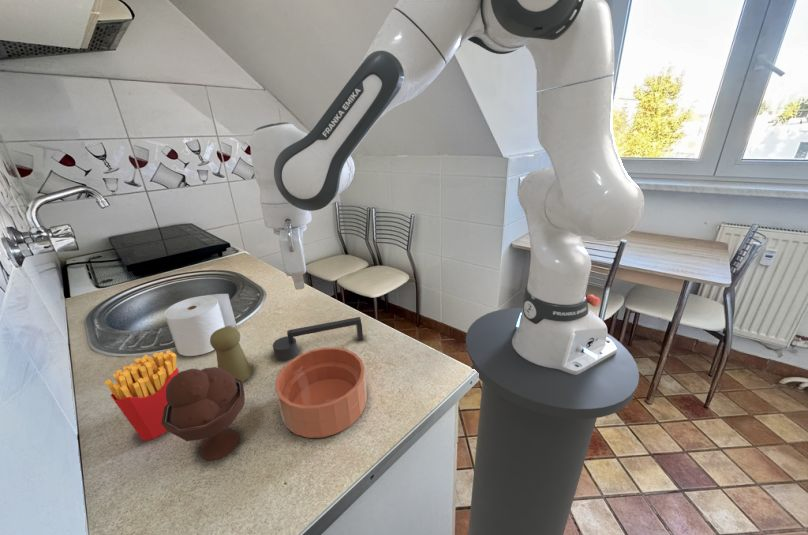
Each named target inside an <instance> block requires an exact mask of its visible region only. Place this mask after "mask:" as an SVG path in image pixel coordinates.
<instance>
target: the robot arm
mask: <svg viewBox="0 0 808 535" xmlns="http://www.w3.org/2000/svg"><path fill="white" fill-rule="evenodd" d="M613 26H614V25H613V19H612V12H611V8H610V5H609V4H608V2H607V1H606V0H398V1H397V2H396V4H395V5H394V6H393V8H392V9H391V10H390V12H389V14H388V16H387V17H386V19H385V20H384V22H383V23H382V25H381V27H380V29H379V30H378V32H377V34H376V35H375V37H374V38H373V40H372V42H371V44H370V46H369V47H368V50H367V52H366V53H365V55H364V56H363V58H362V60H361V61H360V63H359V65H358V66H357V68H356V70H355V72H354V73H353V75H352V76H351V77H350V78H349V80H348V81H347V82H346V83H345V85H344V86H343V88H342V89H341V90H340V92H339V93H338V94H337V96H336V97H335V98H334V100H333V101H332V103H331V104H330V105H329V107H328V108H327V109H326V111H325V112H324V113H323V115H322V116H321V118H320V119H319V120H318V122H317V123H316V124H315V126H314V127H313V128H312V130H310V131H309V132H308V133H306V132H305V131H302V130H301V129H299V128H298V127H296V126H295V124H293V123H291V122H284V121H283V122H276V123H270V124H265V125H262V126H259V127H257V128H256V129H254V130H253V131H252V133H251V134H250V138H249V139H250V140H249V147H250V157H251V158H250V159H251V164H252V169H253V176H254V178H255V180H256V183H257V184H258V187H259V192H260V194H259V202H260V206H261V211H262V216H263V221H264V225H265V227H266V228H268V229H272V230H273V234H274V235H276V236H278V237H279V238H278V239H279V240H278V241H279V246H280V247H279V249H280V254H281V258H282V263H283V264H282V265H283V270H284V273H285V275H286V276H287V277H291V279H292V281H293V285H294V289H295V290H303V289H305V280H304V274H306V272H307V265H306V256H305V248H304V232H306V231H307V230H308V224H310V223H311V222H312V221H313V216H312V212H314V211H320V210H321V209H324V208H325V207H327V206H328V205H329V204H330V203H331V202H332V201H333V200H334V199H335V198H336V197H338V196H339V195H341V194H342V193H343V192H344V191H345V190H347V189H348V188H349V187H350V186H351V184H352V183H353V182H354V179H355V175H356V164H355V161H354V158H353V156H352V154H353V153H354V151H356V149H357V148H358V147H359V145H360V144H361V143H362V141H363V140H364V138H365V137H367V135H368V133H369V132H370V131H371V130H372V129H373V127H374V126H375V124H376V123H377V122H378V121H379V120H380V119H381V118H382V117H383V116H385V114H387V113H388V112H390V111H391V110H393V109H394V108H396V107H398V106H400V105H402V104H404V103H407V102H409V101H411V100H413V99H415V98H416V97H417V96H419V95H420V94H421V93H422V92H423V91H425V89H427V88H428V87H429V86H430V85H431V84H432V83H433V81H435V80H436V78H437V77H438V76H439V75H440V74H441V72H442V71H443V70H444V68H445V67H446V66H447V65H448V63H449V62H450V61H451V59H452V58H453V57H454V55H455V54H456V53H457V52H458V51H459V50H460V48H461V47H462V46H463V45H464V44H465V42H467V41H469V42H471V43H472V44H474V45H477V46H479V47H480V48H482V49H484V50H486V51H487V52H489V53H492V54H496V55H506V54H510V53H513V52H515V51H517V50H519V49H521V48H524V47H525V48H526V49H527V50H528V51H529V53H530V55H531V56H532V59H533V61H534V65H535V70H536V115H537V116H536V120H537V121H536V124H537V138H538V142H539V144H540V146H541V147H542V148H543V149H544V151H545V152H546V154H547V156H548V158H549V160H550V163H551V165H552V166H547V167H542V168H537V169H534V170H532V171H530V172H529V173H528V174H526V176H525V177H524V178H523V179H522V181H521V182H520V185H519V188H518V192H517V195H518V196H517V197H518V198H517V199H518V202H519V204H520V207H521V208H522V210H523V213H524V215H525V218H526V224H527V230H528V231H527V232H528V238H529V244H530V263H529V269H528V270H529V271H528V280H527V284H526V286H525V287H524V292H523V297H522V308H523V310H522V313H521V314H520V316H519V319H518V322H517V327H516V332H515V334H514V336H513V338H512V345H513V347H514V349H515V351H516V352H517V353H518V354H519V355H521V356H522V357H523V358H525V359H526V360H528V361H530V362H532V363H534V364H537V365H540V366H544V367H548V368H554V369H559V370H562V371H564V372H567V373H570V374H574V375H577V374H580V373H581V372H583V371H585V370H587V369H589V368H590V367H592V366H594V365H596V364H597V363H599V362H601V361H603V360H604V359H606V358H608V357H610V356H612V355H613V354H615V353H616V352H617V348H616V346H615V344H614V343H613V342H612V341H611V340H610V339H609V338H608V337H607V333H608V327H607V324H606V323H605V322H604V320H603V319H602V318H600V317H599V316H598V315H597V314H595V312H593V311H591V309H589V304H590V305H591V306H592V307H597V306H599V304H600V303H601V298H600V297H598V296H595V295H594V294H592V293H591V294H586V292H587V289H588V284H589V279H590V276H591V271H592V270H591V269H592V260H591V256H590V254H589V253H588V251H587V249H586V247H585V246H584V245H585V244H584V242H583V239H582V238H584V239H588V240H594V241H604V242H612V241H613V242H614V241H618V240H620V239H622V238H624V237H625V236H627V235H628V234H629V233H631V232H632V231H633V230H634V229H635V228H636V227H637V225H638V224H639V223H640V221H641V219H642V217H643V214H644V212H645V196H644V193H643V191H642V189H641V188H640V187H639V185H637V184H636V183H635V182H634V180H633V179H632V178H631V177H630V176H629V175H628V173H627V171H626V170H625V168H624V166H623V163H622V160H621V158H620V155H619V153H618V148H617V146H616V142H615V138H614V131H613V130H614V129H613V100H614V99H613V98H614V78H615V77H614V76H615V75H614V74H615V36H614V27H613Z"/></svg>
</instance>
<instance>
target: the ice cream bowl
mask: <svg viewBox="0 0 808 535" xmlns="http://www.w3.org/2000/svg"><path fill="white" fill-rule="evenodd" d="M244 386H245V385H244V382H243V381H242V380H239V379H237V378H234V376H233V374H231V373H230V372H228V371H226V370H223V369H221V368H218V366H217V367H215V366H213V367H205V368H203V369H198V368H190V369H186V370H185V369H184V370H182V371H179V373H178V374H177V375H175V376H174V377H172V379H171V380H170V382H169V383H168V385H167V387H166V399H167V402H168V404H167V405H166V406H165V407H164V411H163V416H162V422H161V424H162V426H163V427H164V428H165V429H166V430H167V431H166V432H169V433H171V434H173V435H174V436H176V437H178V438H180V439H182V440H184V441H185V442H192V441H199V440H205V439H206V440H205V441H204V442H203V444H202V446H201V458H202V459H205V460H207V461H208V462H211V461H217V460H218V461H219V460H222V459H223V458H225V457H227V456H228V455H229V454H231V453H232V452H234V451H235V449H236V447H237V446H238V444H239V442H240V437H239V433H238V432H237V431H235V430H233V429H232V428H229V427H231V425H232V424H234V423H233V422H234V421H235V420H236V419H237V417H238V416H239V414H240V413H241V411H242V410H243V409H244V406H245V402H246V395H245V387H244Z"/></svg>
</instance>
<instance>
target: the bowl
mask: <svg viewBox="0 0 808 535" xmlns="http://www.w3.org/2000/svg"><path fill="white" fill-rule="evenodd" d="M365 369H366V368H365V365H364V362H363V360H362V359H361V358H360V356H359V355H358V354H357V353H355V352H353V351H351V350H349V349H347V348H342V347H335V346H334V347H321V348H315V349H312V350H309V351H306V352H303V353H300V354H299V355H296V356H295V357H294V358H292V359H290V360H288V362H287V363H286V364H285V365H284V366H283V367H282V368H281V370H280V371H279V372H278V375H277V376H276V379H275V382H274V383H275V384H274V392H275V395H276V396H275V397H276V399H277V404H278V408H279V412H280V418H281V419H282V422H283V425H284V426H285V428H286V429H288V430H289V431H290V432H292V433H293V434H294V435H296V436H300V437H303V438H310V439H311V438H326V437H329V436H332V435H336V434H339V433H340V432H342V431H344V430H345V429H347V428H349V427H350V426H352V425H353V424H354V423H355V422H356V421H357V419H359V418H360V417H361V416H362V413H363V411H364V410H365V408H366V406H367V399H368V388H367V378H366V370H365Z"/></svg>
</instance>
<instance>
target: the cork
mask: <svg viewBox="0 0 808 535" xmlns="http://www.w3.org/2000/svg"><path fill="white" fill-rule="evenodd" d="M240 341H241V334H240V332H239V330H238V329H237V328H236V327H235V326H228V327H224V328H221V329H218V330H216V331H215V332H214V333H213V334H212V335H211V337H210V343H211V346H212V347H213V348H214V350H215V354H216V363H217V368H221V369H223V370H226V371H228V372H230V373H231V374H233V376H234V378H237V379H239V380H242V381H243V383H244V382H245V381H247V380H248V379H249V378H250V377H251V375H252V373H253V372H252V371H253V370H252V368H251V366H250V364H249V361H248V359H247V357H246V355H245V353H244V350H243V348H242V346H241V344H240Z"/></svg>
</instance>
